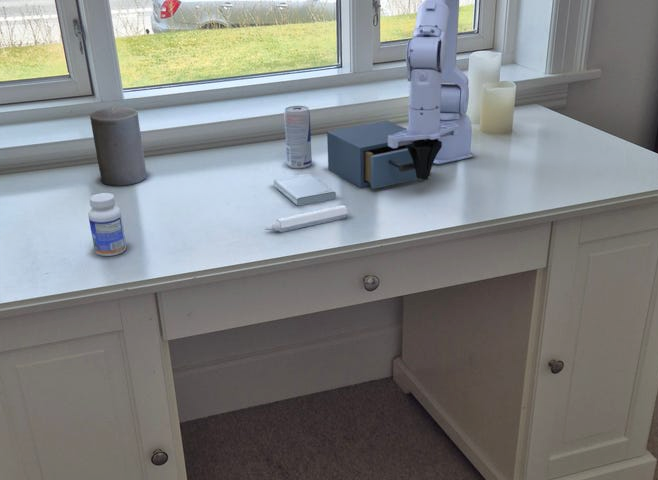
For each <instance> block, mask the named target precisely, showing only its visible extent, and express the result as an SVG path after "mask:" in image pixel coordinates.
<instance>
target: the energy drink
mask: <svg viewBox="0 0 658 480" xmlns="http://www.w3.org/2000/svg"><path fill="white" fill-rule="evenodd" d="M283 115H284V117H283V118H284V131H285V132H284V133H285V134H284V135H285V136H284V137H285V153H286V165H287V166H288V167H289V168H291V169H305V168H309V167H310V166H311V165H312V164H313V161H312V160H313V158H312V156H313V155H312V137H311V135H312V134H311V112H310V109H309V107H308V106H306V105H291V106H288V107H285V108H284V113H283Z"/></svg>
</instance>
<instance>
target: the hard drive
mask: <svg viewBox="0 0 658 480" xmlns="http://www.w3.org/2000/svg"><path fill="white" fill-rule="evenodd" d="M273 187H275V188H276V189H277V190H278V191H280V193H282V194H283V196H285V197H287V198H288V199H289V200H290V201H291V202H293V203H294V204H295V205H296V206H305V205H310V204H315V203H321V202H327V201H331V200H332V201H333V200H335V199H336V198H337V192H336V191H335V190H333V189H332V188H331V187H329V186H328V185H326V184H325V183H324V182H322V181H321V180H320V179H318V178H317V177H316V176H315V175H313V174H312V173H303V174H297V175H292V176H287V177H286V176H285V177H281V178H275V179H274V180H273Z"/></svg>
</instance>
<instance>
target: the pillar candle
mask: <svg viewBox="0 0 658 480" xmlns="http://www.w3.org/2000/svg"><path fill="white" fill-rule="evenodd" d="M89 119H90V124H91V130H92V136H93V143H94V148H95V151H96V152H95V153H96V159H97V164H98V169H99V174H100V182H101V183H102V184H103V185H107V186H116V187H122V186H130V185H134V184H137V183H141V182H142V181H145V179H147V176H148V175H147V169H146V160H145V153H144V147H143V140H142V133H141V127H140V120H139V113H138V110H136V109H134V108H131V107H113V106H111V107H110V108H109V107H108V108H104V109H100V110H97V111H94V112H92V113H91V114H90V115H89Z"/></svg>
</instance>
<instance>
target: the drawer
mask: <svg viewBox="0 0 658 480" xmlns="http://www.w3.org/2000/svg"><path fill="white" fill-rule="evenodd" d="M431 171H432V170H431ZM431 171H430V174H429V177H431V173H432V172H431ZM364 180H366V181H368V182H369V183H371V186H370V188H372V189H374V190H375V189H379V188H383V187H388V186H392V185H396V184H401V183H405V182H409V181H415V180H418V178H417V176H416V171H415V167H414V163H413V160H412V157H411V155H410V153H409V151H408V149H407V147H406V145H402V146H398V148H391V147H389V146H387V147H382V148H377V149H372V150H367V151H364Z"/></svg>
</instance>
